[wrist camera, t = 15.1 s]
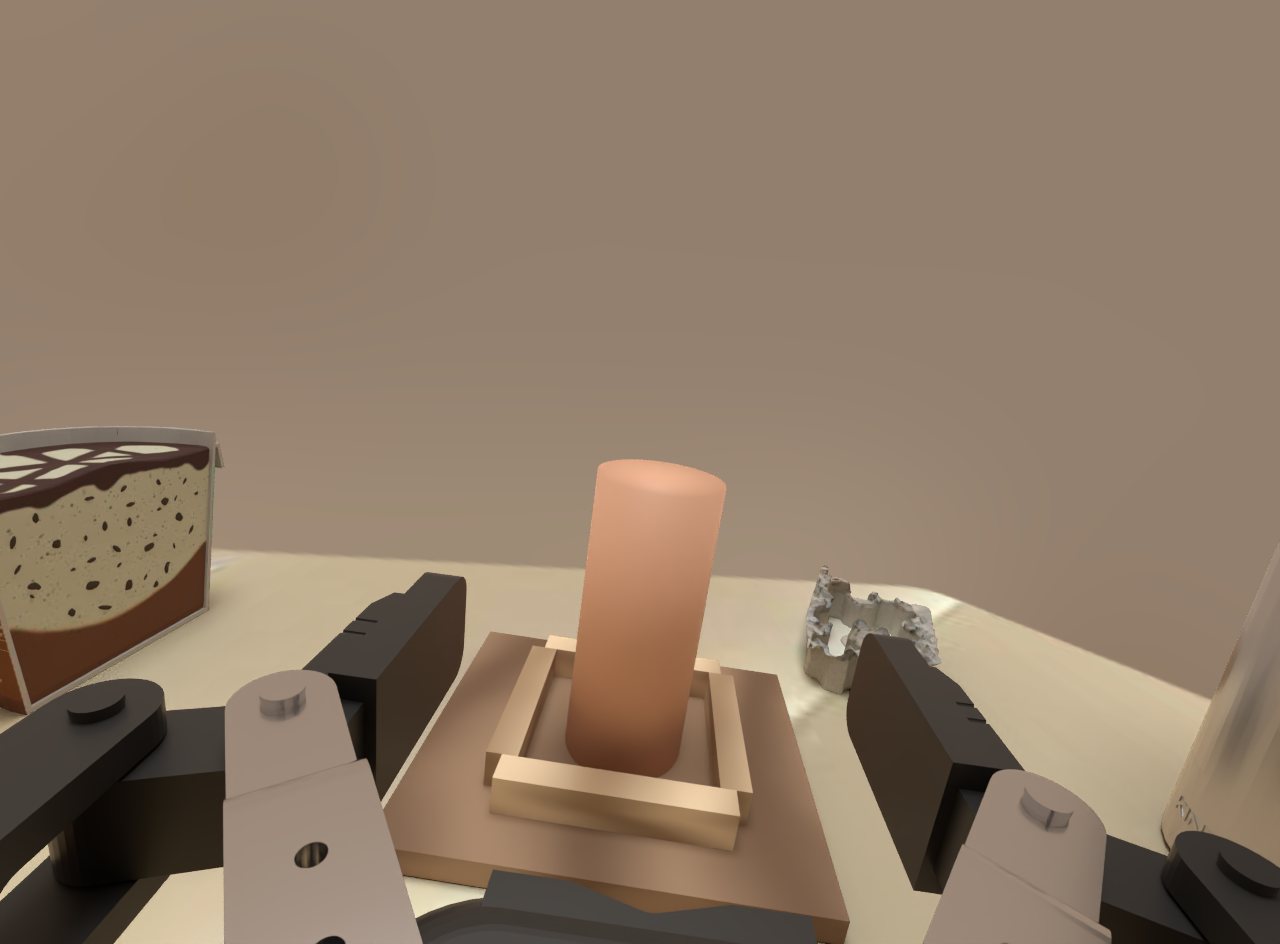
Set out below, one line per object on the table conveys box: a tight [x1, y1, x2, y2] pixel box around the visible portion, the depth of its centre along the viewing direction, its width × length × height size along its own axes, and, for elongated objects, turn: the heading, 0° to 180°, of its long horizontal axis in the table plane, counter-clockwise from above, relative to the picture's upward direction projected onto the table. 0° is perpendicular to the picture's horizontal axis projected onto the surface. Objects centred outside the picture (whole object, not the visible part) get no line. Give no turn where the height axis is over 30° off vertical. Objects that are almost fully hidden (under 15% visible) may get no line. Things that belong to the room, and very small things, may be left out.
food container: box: [0, 426, 224, 715], centre depth 28 cm, size 12×6×10 cm, turn 175°
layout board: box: [383, 632, 850, 944], centre depth 26 cm, size 16×14×2 cm
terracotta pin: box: [565, 459, 726, 778], centre depth 25 cm, size 5×5×12 cm
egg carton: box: [804, 566, 941, 694], centre depth 38 cm, size 11×8×4 cm
